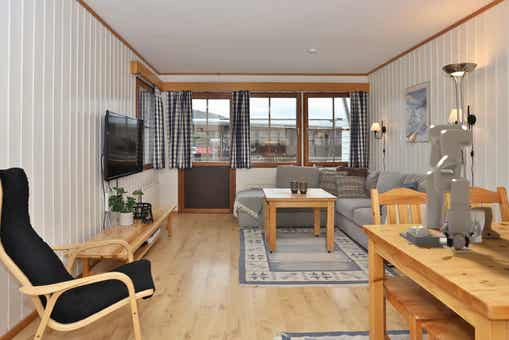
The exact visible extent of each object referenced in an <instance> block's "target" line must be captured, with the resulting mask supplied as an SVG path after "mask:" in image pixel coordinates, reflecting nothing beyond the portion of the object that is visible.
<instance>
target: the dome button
mask: <svg viewBox="0 0 509 340" xmlns="http://www.w3.org/2000/svg"><path fill="white" fill-rule="evenodd" d="M417 227H418V228H417V229H416V235H418V236H430V232H431V231H430V230H429V229H430V228H427V227H425V226H422V225H419V226H417Z"/></svg>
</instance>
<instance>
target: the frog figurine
mask: <svg viewBox="0 0 509 340" xmlns="http://www.w3.org/2000/svg"><path fill="white" fill-rule="evenodd" d="M464 237H465V236H463V235H462V234H460V233H453V235H452V237H451V238H452V245H453V246H452V248H454V249H456V250H461V249H463V248H464V245H465V243H466V241H465V238H464Z"/></svg>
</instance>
